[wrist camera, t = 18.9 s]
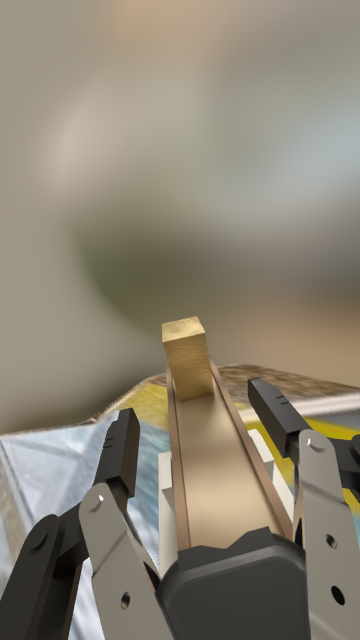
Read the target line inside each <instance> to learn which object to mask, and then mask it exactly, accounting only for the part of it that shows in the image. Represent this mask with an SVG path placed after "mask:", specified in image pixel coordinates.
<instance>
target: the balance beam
mask: <svg viewBox="0 0 360 640" xmlns="http://www.w3.org/2000/svg"><path fill="white" fill-rule="evenodd" d="M209 361H210V367H211V374H212V380H213V387H214V393H215V394H213V395H209V396H205V397H201V398H197V399H193V400H189V401H184V402H179V398H178V395H177V391H176V388H175V384H174V381H173V377H172V374H171V370H170V366H169V364H166V378H167V393H168V408H169V423H170V438H171V453H172V468H173V483H174V498H175V513H176V528H177V543H178V551H181V550H184V549H188V548H191V547H195V546H198V545H204V546H210V547H216V548H223V549H225V548H228V547H229V546H230V545H231V544H233V543H234V542H235V541H236V540H237V539H239V538H240V537H241V536H242V535H244V534H245V533H246V532H248V531H252V530H255V529H259V528H263V527H266V526H269V528H270V531H271V533H276V534H279V535H282V536H284V537H286V538H288V539H290V540H291V541H293V523H292V521H291V519H290V517H289V515H288V513H287V511H286V509H285V507H284V505H283V503H282V501H281V499H280V497H279V495H278V493H277V491H276V489H275V487H274V485H273V482H272V480H271V478H270V476H269V474H268V472H267V470H266V468H265V466H264V464H263V462H262V460H261V458H260V456H259V454H258V452H257V450H256V448H255V446H254V444H253V442H252V439H251V437H250V435H249V433H248V431H247V429H246V427H245V425H244V423H243V421H242V419H241V417H240V415H239V413H238V411H237V409H236V407H235V405H234V403H233V401H232V399H231V397H230V394H229V392H228V390H227V388H226V386H225V384H224V382H223V380H222V378H221V376H220V374H219V372H218V370H217V368H216V366H215V364H214V362H213V360H212V358H211V356H210V354H209Z"/></svg>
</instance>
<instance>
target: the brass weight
mask: <svg viewBox="0 0 360 640" xmlns="http://www.w3.org/2000/svg"><path fill="white" fill-rule="evenodd" d="M162 336H163V345H164V349H165V352H166V356H167V359H168V363H169V366H170V370H171V374H172V377H173V381H174V384H175V388H176V391H177V395H178V398H179V402H184V401H189V400H193V399H197V398H201V397H205V396H209V395H213V394H215V393H214V387H213V380H212V374H211V367H210V361H209V354H208V348H207V342H206V335H205V331H204V329H203V328H202V326H201V324H200V322H199V320H198V318H197V317H196V316H195V317H191V318H187V319H182V320H178V321H173V322H169V323H165V324H162Z"/></svg>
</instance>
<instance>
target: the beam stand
mask: <svg viewBox="0 0 360 640" xmlns="http://www.w3.org/2000/svg"><path fill="white" fill-rule="evenodd" d="M248 433H249V435H250V437H251V439H252V442H253V444H254V446H255V448H256V450H257V452H258V454H259V456H260V458H261V460H262V462H263V464H264V466H265V468H266V470H267V472H268V474H269V476H270V478H271V480H272V482H273V485H274V487H275V489H276V491H277V493H278V495H279V497H280V499H281V501H282V503H283V505H284V507H285V509H286V511H287V513H288V515H289V517H290V519H291V521H292V523H293V512H294V498H293V496H292V494H291V492H290V490H289V489H288V487H287V485H286V483H285V481H284V479H283V477H282V476H281V474H280V472H279V470H278V468H277V466H276V464H275V463H274V458H273V456H272V455H271V453H270V451H269V449H268V447H267V445H266V444H265V442H264V440H263V438H262V436H261V434H260V433H258V431H257V429H253V430H249V431H248ZM177 551H178V543H177V528H176V513H175V498H174V483H173V468H172V453H171V451H168V452H164V453H160V454H159V575H160V577H161V579H162V578H163V576H164V574H165V573H166V571H167V570H168V569H169V567H170V566H171V565H172V564H173V563H174V562H175V561H176V560H177V559H178V552H177Z"/></svg>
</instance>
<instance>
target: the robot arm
mask: <svg viewBox="0 0 360 640" xmlns="http://www.w3.org/2000/svg"><path fill="white" fill-rule="evenodd" d="M248 398H249V401H250V403H251V405H252V407H253V408H254V410H255V412H256V413H257V415H258V417H259V419H260V420H261V422H262V424H263V425H264V427H265V429H266V430H267V432H268V434H269V435H270V437H271V439H272V440H273V442H274V444H275V446H276V447H277V449H278V451H279V452H280V454H281V456H282V457H283V458H287V457H290V459H291V460H292V462H293V482H294V512H293V541H291V540H290V539H288V538H286V537H284V536H282V535H279V534H276V533H271V531H270V528H269V526H266V527H263V528H259V529H255V530H252V531H248V532H246V533H245V534H244V535H242V536H241V537H240V538H239V539H237V540H236V541H235V542H234V543H233V544H231V545H230V546H229V547H228V548H225V549H223V548H216V547H210V546H204V545H198V546H195V547H191V548H188V549H184V550H181V551H177V552H178V559H177V560H176V561H175V562H174V563H173V564H172V565H171V566H170V567H169V569H168V570H167V571H166V573H165V574H164V576H163V578H162V579H161V577H160V575H159V573H158V571H157V569H156V567H155V565H154V563H153V561H152V559H151V557H150V556H149V554H148V552H147V551H146V549H145V547H144V545H143V543H142V541H141V539H140V536H139V534H138V532H137V530H136V528H135V526H134V524H133V522H132V520H131V518H130V516H129V514H128V512H127V501H128V499H129V498H132V497H134V494H135V483H136V471H137V460H138V449H139V437H140V425H139V421H138V419H137V417H136V414H135V412H134V410H133V408H128V409H124V410H120V412H119V416H118V420H117V421H113V422H112V424H111V425H110V427H109V429H108V430H107V434H106V438H105V442H104V446H103V450H102V453H101V457H100V461H99V465H98V468H97V472H96V476H95V480H94V483H93V485H92V488H90V490H89V491H88V492H87V493H86V494H85V496H84V498H83V500H82V501H81V502H80V503H79V504H77V505H76V506H74V507H73V508H71V509H70V510H68V511H67V512H65V513H64V514H62V515H61V516H59V517H58V516H56V515H54V514H50V515H47V516H45V517H44V518H42V519H41V520H40V521H39V522H38V523H37V524H36V525H35V526H34V527H33V529H32V530H31V531H30V533H29V534H28V536H27V538H26V540H25V542H24V544H23V546H22V549H21V551H20V554H19V556H18V559H17V561H16V563H15V566H14V568H13V571H12V573H11V576H10V578H9V581H8V583H7V585H6V588H5V590H4V593H3V595H2V598H1V600H0V640H68V636H69V631H70V626H71V621H72V616H73V610H74V605H75V600H76V595H77V590H78V585H79V580H80V575H81V570H82V565H83V561H85V560H86V559H87V558H88V557H90V560H91V564H92V568H93V575H92V579H91V581H92V589H93V593H94V597H95V601H96V605H97V609H98V613H99V617H100V621H101V625H102V629H103V633H104V637H105V640H360V549H359V544H358V540H357V535H356V530H355V525H354V520H353V516H352V512H351V509H350V507H349V505H348V504H346V502H345V500H344V496H343V491H342V488H347V489H349V490H350V491H351V492H352V494H353V495H354V496H355V498H356V499H357V501H358V502H359V503H360V434H358V435H355V436H353V438H352V440H343V439H333V438H328V437H325V436H324V435H323V434H321V433H319V432H317V431H315V430H313V429H312V428H311V427H310V426H309V425H308V424H307V422H306V421H305V420H304V419H303V418H302V417H301V415H300V414H299V413H298V412H297V411H296V409H295V408H294V407H293V406H292V405H291V404H290V403H289V401H288V400H287V399H286V398H285V397H284V395H283V394H282V393H281V392H280V390H279V389H278V388H276V387H275V386H273V385H272V384H270V383H269V384H265V383H264V382H263V380H262V379H261V378H260V377H257V378H253V379H249V380H248Z"/></svg>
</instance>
